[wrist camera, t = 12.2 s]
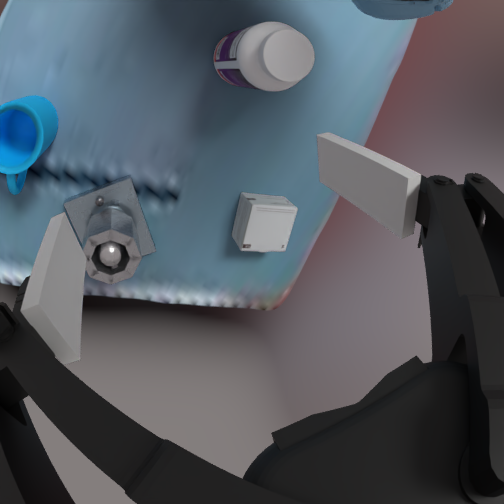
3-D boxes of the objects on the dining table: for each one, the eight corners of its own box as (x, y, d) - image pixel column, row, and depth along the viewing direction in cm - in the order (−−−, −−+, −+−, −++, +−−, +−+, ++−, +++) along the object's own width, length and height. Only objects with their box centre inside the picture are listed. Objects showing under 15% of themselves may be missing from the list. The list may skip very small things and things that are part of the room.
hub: (77, 221, 38) (72, 243, 33) (126, 202, 39) (127, 223, 35) (97, 264, 42) (96, 289, 37) (143, 247, 44) (147, 271, 39)
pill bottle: (274, 77, 40) (332, 85, 29) (220, 93, 39) (263, 105, 28) (259, 25, 35) (316, 12, 24) (203, 39, 34) (241, 25, 23)
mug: (9, 94, 28) (-15, 100, 21) (63, 97, 31) (49, 103, 25) (0, 180, 33) (-21, 203, 26) (50, 185, 36) (37, 209, 30)
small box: (284, 195, 52) (299, 208, 48) (272, 237, 55) (285, 253, 51) (240, 190, 48) (252, 203, 44) (229, 236, 52) (240, 252, 48)
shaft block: (65, 199, 38) (54, 229, 31) (130, 174, 40) (132, 199, 33) (96, 267, 45) (95, 305, 38) (155, 246, 47) (163, 281, 40)
